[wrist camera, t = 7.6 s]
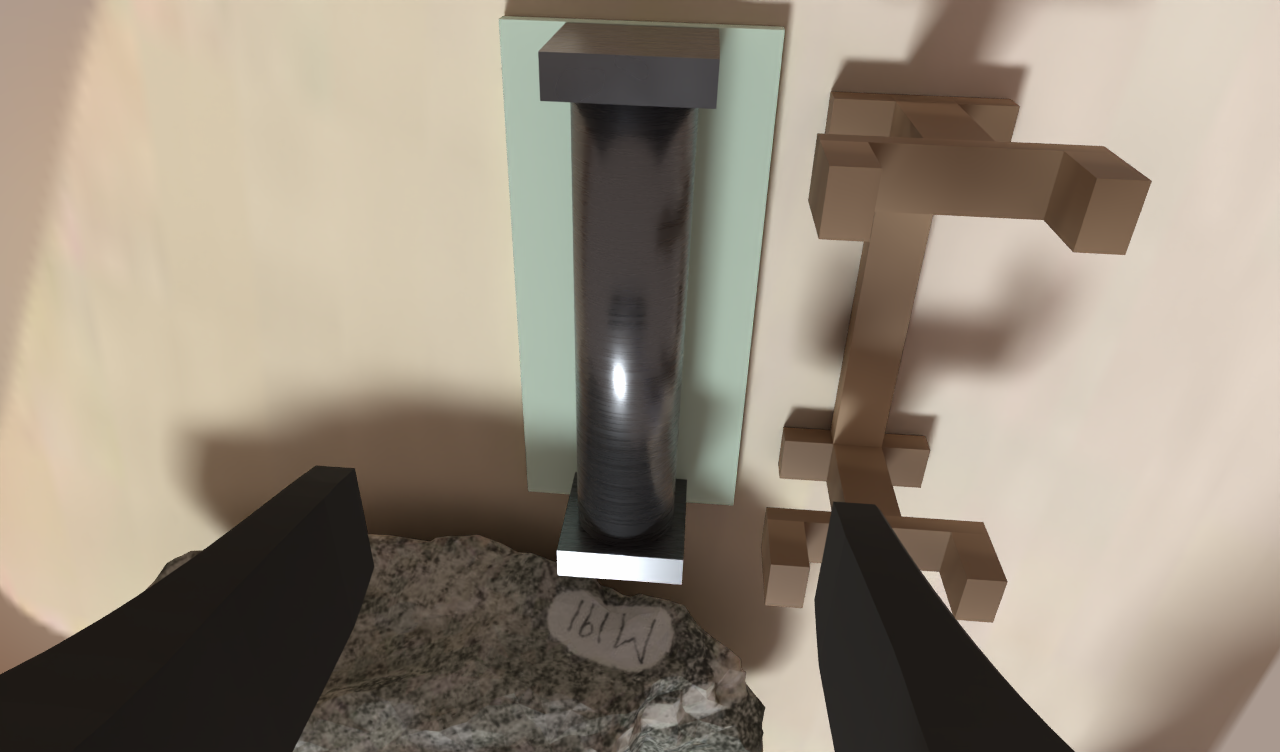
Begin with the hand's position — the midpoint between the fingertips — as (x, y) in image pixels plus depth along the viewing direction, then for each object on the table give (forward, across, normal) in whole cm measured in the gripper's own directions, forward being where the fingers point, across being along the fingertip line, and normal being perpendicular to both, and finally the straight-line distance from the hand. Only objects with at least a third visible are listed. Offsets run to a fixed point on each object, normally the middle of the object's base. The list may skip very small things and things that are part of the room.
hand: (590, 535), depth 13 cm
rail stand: (+8, -6, 0) cm, 10 cm away
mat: (+8, 0, 0) cm, 8 cm away
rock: (+9, +5, +12) cm, 16 cm away
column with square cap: (+8, 0, 0) cm, 8 cm away
